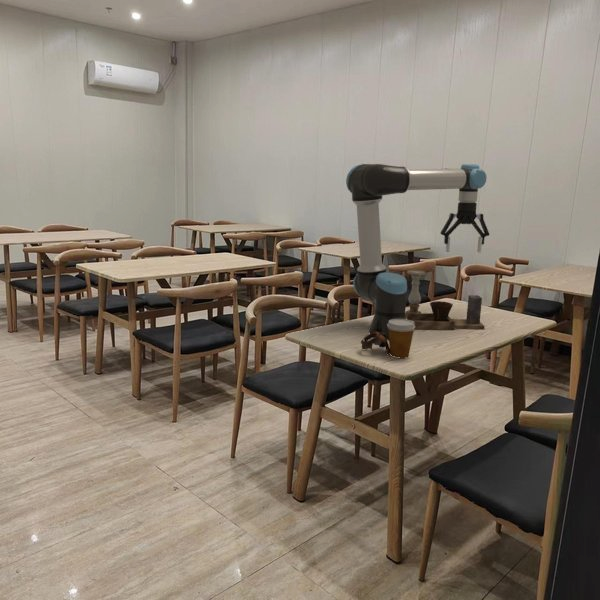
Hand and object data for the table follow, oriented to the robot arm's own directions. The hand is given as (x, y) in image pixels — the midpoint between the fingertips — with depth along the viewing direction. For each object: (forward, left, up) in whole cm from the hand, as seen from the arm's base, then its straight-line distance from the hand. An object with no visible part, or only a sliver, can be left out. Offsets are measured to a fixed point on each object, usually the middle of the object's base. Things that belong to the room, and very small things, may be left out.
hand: (463, 252), depth 233 cm
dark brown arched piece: (-42, -51, -29) cm, 72 cm away
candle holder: (-20, -2, -29) cm, 35 cm away
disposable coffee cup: (-35, -55, -29) cm, 71 cm away
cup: (-12, -15, -29) cm, 35 cm away
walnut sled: (-9, -15, -29) cm, 34 cm away
